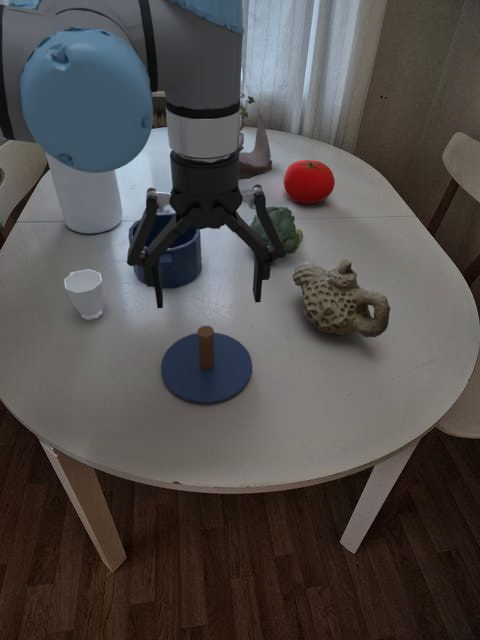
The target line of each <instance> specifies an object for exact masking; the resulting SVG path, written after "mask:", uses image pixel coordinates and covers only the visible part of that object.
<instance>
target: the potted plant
mask: <svg viewBox="0 0 480 640" xmlns="http://www.w3.org/2000/svg"><path fill="white" fill-rule="evenodd" d="M245 97H246V95H245V93H243V92H242V93H241V92H240V99H244V98H245ZM254 98H255V97H253V96H249V95H248V96H247V99H245V104H244V103H242V102H240V145H239V148H238V149H237V151H238V152H239V179H241V178H243V179H244V178H246V179H249V180H250V179H251V178H252V177H253V176H254V175H256V174H261V173H266V172H267V171H270V170H272V169H273V161H272V160H271V148H270V142H269V137H268V135H267V130H266V127H265V124H264V120H263V117H262V115H261V114H259V115H258V118H257V125H256V133H255V141H254V147H253V149H252V151H250V152H242V151H243V150H244V149H245V147H244V146H243V145H244V143H245V134H244V133H242V131H243V129H244V128H245V126H246V121H245V120H246V118H247V119H248V118H249V114H248V113H249V112H248V111H247V109H248V108H247V107H248V104H249V105H251V104H253V103H255V104H256V101H255V100H254Z"/></svg>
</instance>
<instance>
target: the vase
mask: <svg viewBox="0 0 480 640" xmlns="http://www.w3.org/2000/svg"><path fill="white" fill-rule="evenodd" d="M44 153H45V156H46V160H47V163H48V167H49V171H50V174H51V179H52V182H53V185H54V186H53V187H54V190H55V194H56V197H57V201H58V205H59V208H60V211H61V214H62V217H63V219H64V222H65V225H66V227H67V228H69V229H70V230H72V231H74V232H76V233H81V234H90V235H91V234H100V233H104V232H107V231H110V230H112V229H113V228H115V227H117V226H118V225H119V224H120V223H121V222H122V220H123V218H124V217H123V215H124V214H123V207H122V199H121V193H120V189H119V183H118V178H117V172H116V169H115V170H112V171H108V172H103V173H89V172H83V171H78V170H76V169H73V168H71V167H69V166H67V165H65V164H63V163H61V162H59V161H58V160H56V159H55V158H53V157H52V156H50V155H49V154H47V153H46V152H45V151H44Z"/></svg>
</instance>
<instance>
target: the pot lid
mask: <svg viewBox="0 0 480 640" xmlns="http://www.w3.org/2000/svg"><path fill="white" fill-rule="evenodd" d="M252 371H253V361H252V358H251V355H250V352H249V351H248V349H247V348H246V347H245V346H244V345H243V344H242V343H241V342H240V341H239V340H237V339H235V338H234V337H231V336H230V335H227V334H225V333H219V332H215V330H214V328H213V327H212V326H210V325H201V326H200V327H199V328H198V329H197V332H195V333H192V334H188V335H186V336H183V337H182V338H180V339H178V340H177V341H175V342H174V343H172V344H171V346H169V348H167V350H166V351H165V353H164V354H163V357H162V360H161V364H160V372H161V377H162V381H163V382H164V384H165V386H166V387H167V388H168V389H169V391H170V392H172V393H173V394H174V395H175V396H176V397H179V398H181V399H182V400H185V401H188V402H191V403H196V404H214V403H219V402H223V401H225V400H226V401H227V400H229V399H231V398H233V397H234V396H236V395H237V394H238V393H240V392H241V391H242V390H243V389H244V388H245V386H247V385H248V383H249V381H250V379H251V374H252Z"/></svg>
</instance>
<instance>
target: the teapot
mask: <svg viewBox="0 0 480 640" xmlns="http://www.w3.org/2000/svg"><path fill="white" fill-rule="evenodd" d="M352 264H353V263H352V261H349V260H348V259H345V258H344V259H340V261H339V265H336V266H334V267H330V268H329V270H327V269H324V268H323V267H322V266H320V265H317V264H315V263H314V262H312V261H306V262H302V263H300V264H299V265H298V266H297V267H295V268H294V272H293V274H292V279H293V280H292V281H293V283H294V285H295V286H297V287H300V288H301V308H302V309H303V313H304V315H305V317H306V318H307V320H309V321H310V322H311V323H312V324H313V326H315V327H316V329H318V330H319V331H320V332H323V333H328V334H329V333H330V334H337V335H342V336H343V335H346V334H349V333H354V332H357V333H359V334H360V335H361V336H362V337H365V338H377V337H378V336H381V335H382V334H383V333H385V331H386V330H387V329H388V326H389V323H390V313H391V307H390V304H389V301H388V298H387V296H386V295H384V294H383V293H382V292H380V291H372V290H368V289H366V288H365V289H364V288H362V287H361V286H360V285H359V284H358V280H357V277H358V274H357V272H356V271H355V270H354V269H353V268H352ZM369 306H371V307H372V308H373V316H372V314H371V312H370V309H369Z"/></svg>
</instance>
